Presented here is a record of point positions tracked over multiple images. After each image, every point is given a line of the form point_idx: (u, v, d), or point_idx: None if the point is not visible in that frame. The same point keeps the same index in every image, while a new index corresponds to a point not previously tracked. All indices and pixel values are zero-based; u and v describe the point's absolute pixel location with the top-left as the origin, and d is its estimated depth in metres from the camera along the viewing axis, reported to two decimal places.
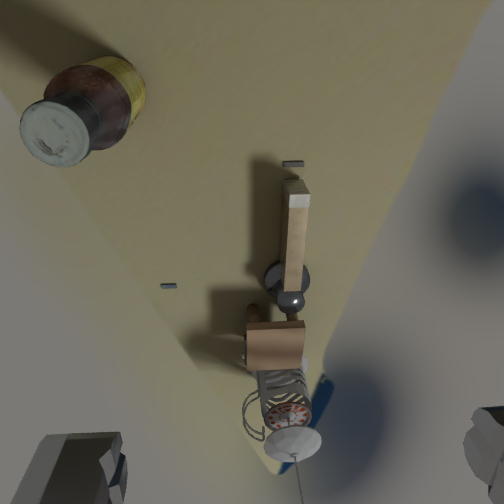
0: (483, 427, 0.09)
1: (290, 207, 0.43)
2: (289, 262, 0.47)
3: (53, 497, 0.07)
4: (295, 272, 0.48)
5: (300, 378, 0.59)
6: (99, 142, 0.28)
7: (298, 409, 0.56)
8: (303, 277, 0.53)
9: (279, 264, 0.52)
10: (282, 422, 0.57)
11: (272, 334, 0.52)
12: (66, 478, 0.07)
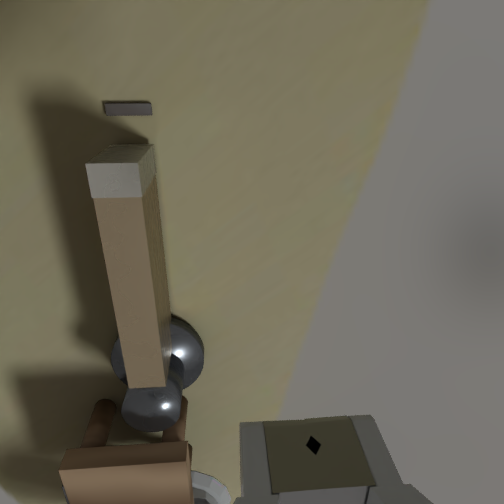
0: None
1: (95, 197, 0.18)
2: (125, 328, 0.21)
3: (281, 480, 0.07)
4: (146, 349, 0.22)
5: None
6: None
7: None
8: (189, 352, 0.27)
9: None
10: None
11: (117, 476, 0.25)
12: (284, 462, 0.07)
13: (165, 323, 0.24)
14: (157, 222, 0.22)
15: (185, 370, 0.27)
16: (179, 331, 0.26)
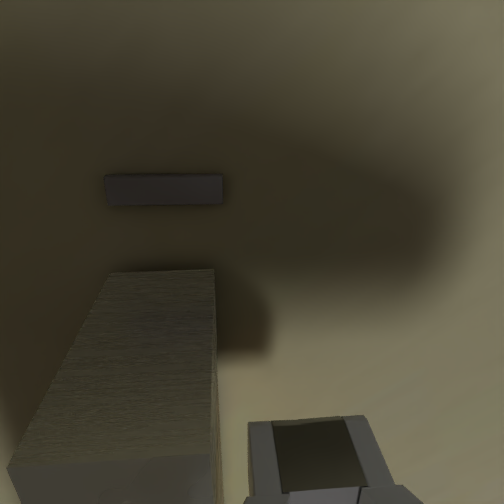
0: None
1: None
2: None
3: (291, 479, 0.07)
4: None
5: None
6: None
7: None
8: None
9: None
10: None
11: None
12: (293, 462, 0.07)
13: None
14: (218, 441, 0.09)
15: None
16: None
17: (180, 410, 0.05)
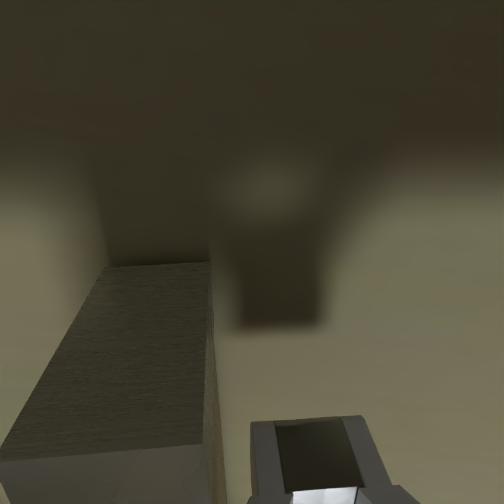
0: None
1: None
2: None
3: (294, 479, 0.07)
4: None
5: None
6: None
7: None
8: None
9: None
10: None
11: None
12: (296, 461, 0.07)
13: None
14: (218, 438, 0.09)
15: None
16: None
17: (172, 401, 0.05)
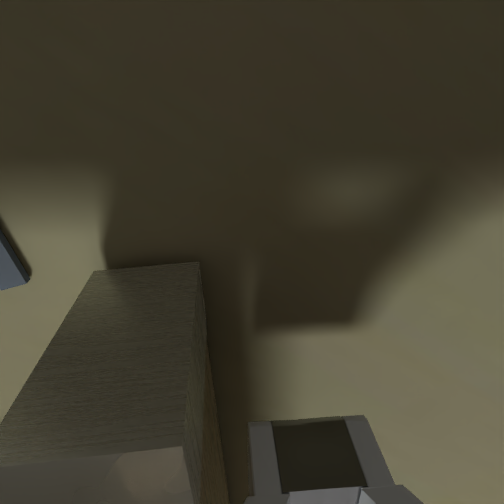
0: None
1: None
2: None
3: (290, 479, 0.07)
4: None
5: None
6: None
7: None
8: None
9: None
10: None
11: None
12: (293, 462, 0.07)
13: None
14: (215, 437, 0.09)
15: None
16: None
17: (154, 403, 0.05)
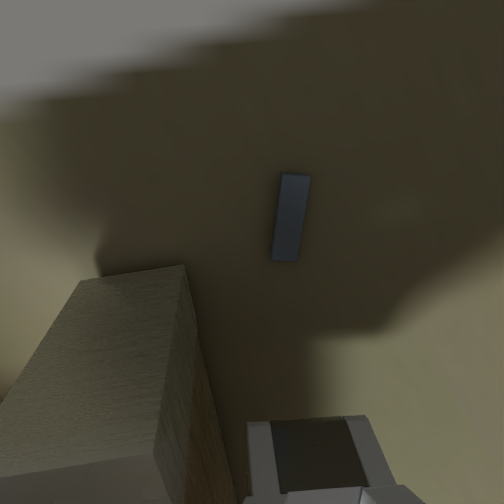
0: None
1: None
2: None
3: (289, 479, 0.07)
4: None
5: None
6: None
7: None
8: None
9: None
10: None
11: None
12: (292, 462, 0.07)
13: None
14: (213, 438, 0.09)
15: None
16: None
17: (129, 411, 0.05)
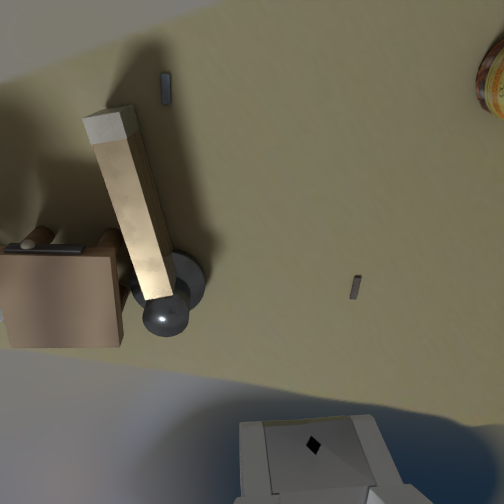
0: None
1: (93, 143, 0.24)
2: (133, 248, 0.27)
3: (281, 480, 0.07)
4: (152, 264, 0.28)
5: None
6: None
7: None
8: (192, 275, 0.33)
9: None
10: None
11: (100, 299, 0.28)
12: (284, 462, 0.07)
13: (166, 247, 0.30)
14: (146, 166, 0.28)
15: (191, 291, 0.34)
16: (180, 257, 0.32)
17: (115, 111, 0.24)
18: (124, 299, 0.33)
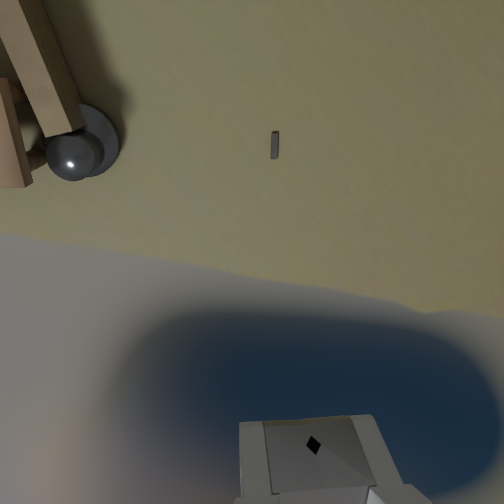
0: None
1: None
2: (23, 75, 0.28)
3: (281, 480, 0.07)
4: (45, 94, 0.29)
5: None
6: None
7: None
8: (102, 128, 0.33)
9: None
10: None
11: None
12: (284, 462, 0.07)
13: (65, 88, 0.31)
14: (36, 0, 0.29)
15: (104, 147, 0.34)
16: (87, 107, 0.33)
17: None
18: (39, 157, 0.34)
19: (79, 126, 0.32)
